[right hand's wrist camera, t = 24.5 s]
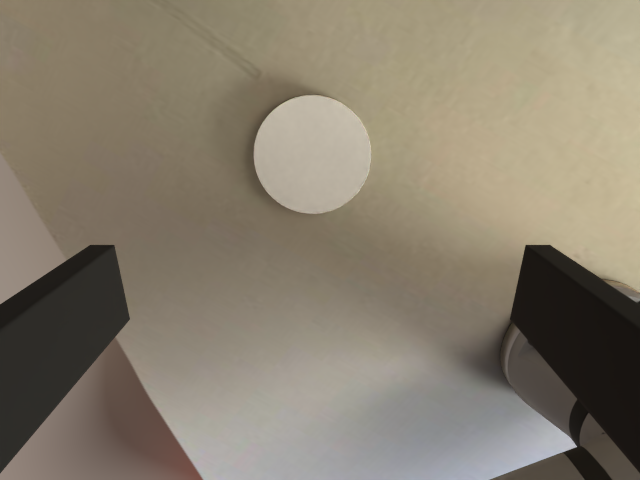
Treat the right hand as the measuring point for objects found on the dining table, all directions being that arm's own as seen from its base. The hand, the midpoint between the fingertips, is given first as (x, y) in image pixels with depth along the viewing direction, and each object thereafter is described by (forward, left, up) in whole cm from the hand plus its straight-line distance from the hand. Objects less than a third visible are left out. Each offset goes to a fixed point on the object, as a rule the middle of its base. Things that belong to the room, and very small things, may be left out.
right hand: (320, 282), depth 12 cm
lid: (0, -1, -19) cm, 19 cm away
